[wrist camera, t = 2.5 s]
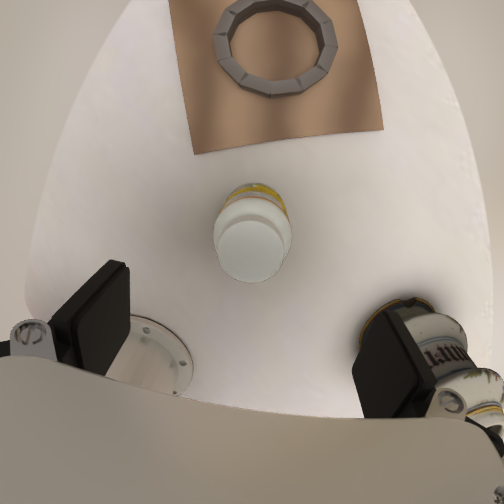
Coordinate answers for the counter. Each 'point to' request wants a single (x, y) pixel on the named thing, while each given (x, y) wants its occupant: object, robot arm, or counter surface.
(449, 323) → the apothecary jar
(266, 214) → the supplement bottle
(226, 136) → the stand board
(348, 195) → the counter surface
